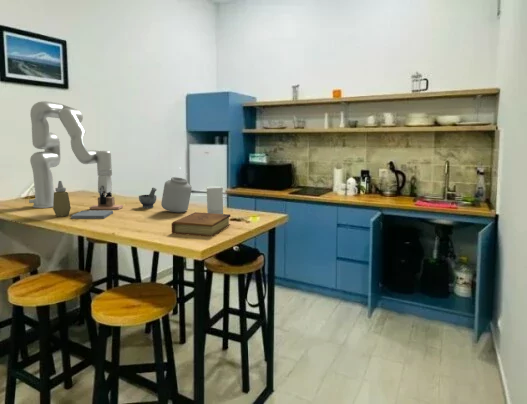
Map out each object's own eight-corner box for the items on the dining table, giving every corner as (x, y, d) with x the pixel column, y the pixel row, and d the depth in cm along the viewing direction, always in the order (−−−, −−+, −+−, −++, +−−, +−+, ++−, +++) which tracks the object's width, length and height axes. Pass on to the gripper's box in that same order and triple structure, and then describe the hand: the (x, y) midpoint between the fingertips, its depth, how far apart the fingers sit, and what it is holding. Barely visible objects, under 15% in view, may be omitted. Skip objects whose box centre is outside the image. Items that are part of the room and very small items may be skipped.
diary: (194, 223, 189) (193, 212, 188) (230, 226, 185) (230, 214, 184) (171, 234, 167) (171, 221, 166) (212, 237, 163) (212, 224, 162)
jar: (199, 210, 220) (199, 166, 216) (187, 215, 206) (186, 168, 202) (170, 208, 226) (169, 165, 222) (156, 212, 212) (154, 166, 208)
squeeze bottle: (74, 214, 204) (72, 180, 201) (62, 217, 196) (59, 182, 193) (62, 213, 206) (60, 179, 204) (49, 216, 199) (47, 181, 196)
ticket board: (71, 218, 194) (71, 215, 194) (82, 213, 208) (82, 210, 208) (104, 218, 195) (104, 215, 195) (113, 213, 209) (112, 210, 209)
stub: (89, 209, 218) (88, 198, 217) (94, 206, 226) (94, 196, 225) (118, 209, 219) (118, 198, 218) (122, 206, 227) (122, 196, 226)
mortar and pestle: (135, 207, 226) (134, 187, 224) (146, 205, 234) (146, 185, 232) (151, 209, 221) (150, 188, 219) (161, 207, 230) (161, 186, 228)
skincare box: (222, 214, 209) (222, 186, 206) (223, 217, 202) (223, 187, 200) (206, 215, 207) (206, 186, 205) (207, 217, 201) (206, 187, 198)
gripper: (103, 171, 228) (104, 200, 230) (92, 174, 211) (94, 205, 213) (116, 171, 228) (117, 200, 231) (106, 174, 211) (108, 205, 214)
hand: (106, 202), depth 222 cm, fingers open, 9 cm apart
